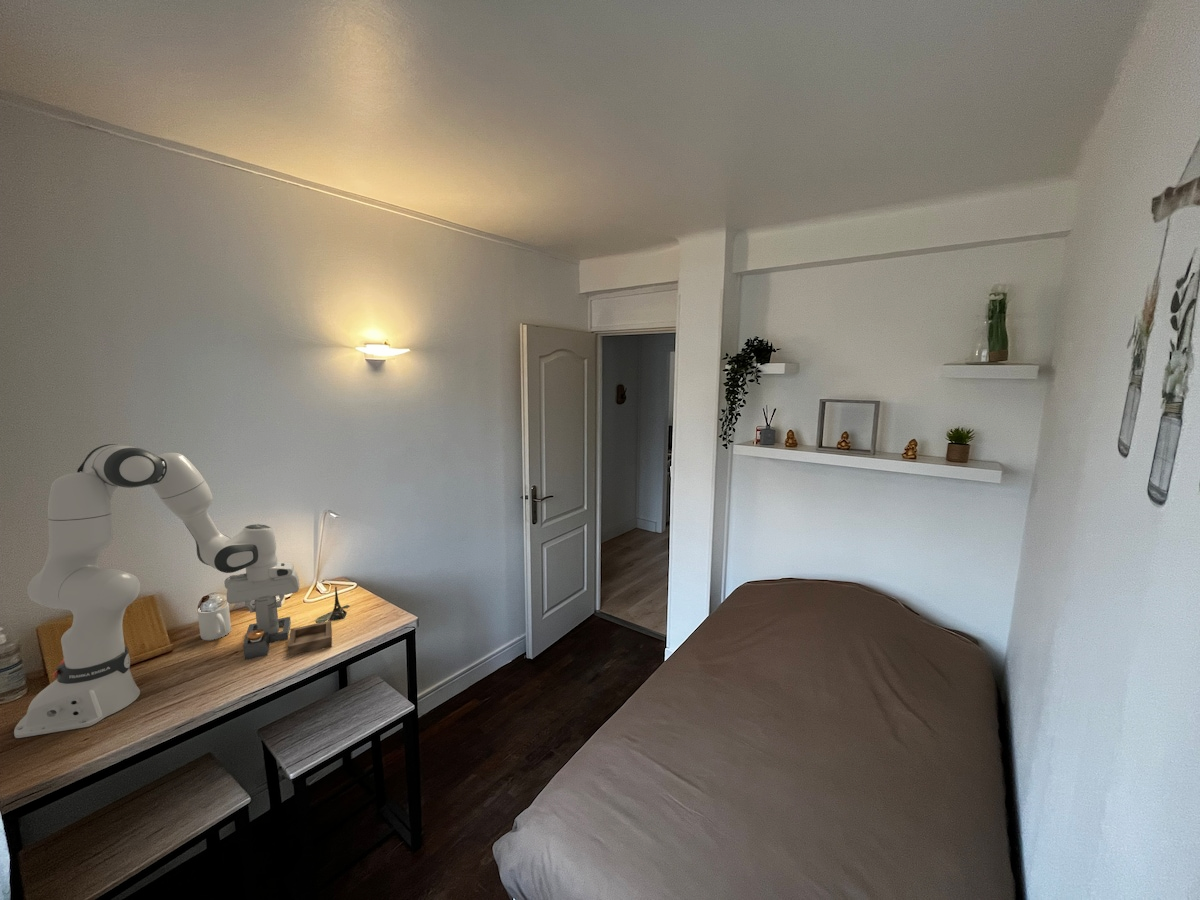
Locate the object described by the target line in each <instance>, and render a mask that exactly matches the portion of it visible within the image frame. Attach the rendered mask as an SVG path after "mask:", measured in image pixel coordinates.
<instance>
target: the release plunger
mask: <svg viewBox="0 0 1200 900" xmlns="http://www.w3.org/2000/svg"><path fill="white" fill-rule="evenodd" d="M263 636H264V630H262V629H258V630H253V631H251V632H249V633H248V634H247V639H248V640H250V643H252V642H257V641H261V640H262V637H263Z"/></svg>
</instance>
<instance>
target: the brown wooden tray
mask: <svg viewBox="0 0 1200 900" xmlns="http://www.w3.org/2000/svg"><path fill="white" fill-rule="evenodd" d="M332 628H333V627H332V621H328V620H327V621H325V622H322V623H314V624H309V625H304V626H298V627H293V628H290V631H289V637H288V644H287V651H288V658H289V657H290V658H291V657H294V656H298V655H301V654H302V655H303V654H307V653H310V652H315V651H321V650H325V649H328V648H332V647H333V645H332V644H333V640H332V639H333V637H332V636H333V634H332V633H333V629H332Z"/></svg>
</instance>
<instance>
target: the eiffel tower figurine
mask: <svg viewBox="0 0 1200 900" xmlns="http://www.w3.org/2000/svg"><path fill="white" fill-rule="evenodd" d="M334 591H335V595H334V596H335V597H334V604H333V605H334V607H333V610H332V611H330V612H328V613H326V614H323V615H321V616H319V617H317V618H316V619H315V624H317V623H322V622H327V621H331V622H333V621H339V620H345V618H346V616H347V614H348V612H347V611H346V610H345V609H348V608H350V607H351V605H349V604H346V605H344V606H341V604H340V601H339V597H338V587H337V586H335V587H334Z"/></svg>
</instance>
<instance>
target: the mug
mask: <svg viewBox="0 0 1200 900" xmlns="http://www.w3.org/2000/svg"><path fill="white" fill-rule="evenodd" d="M224 601H225V600H224ZM225 603H226V606H225V607H224V608H222V609H219V610H216V611H212V612H201V610H200V607H199V608H197V619H198V620H197V621H198V627H199V633H200V634H199V635H200V638H201V639H202V640H203V641H215V640H218V638H219V639H222V638H224V637H225V635H226V636H227V635H229V634H230V633H231V631H232V624H231V623H232V622H231V614H230V606H229V605H230V604H229V603H228V602H227V600H226V601H225ZM228 633H229V634H228ZM221 637H222V638H221ZM214 639H215V640H214Z"/></svg>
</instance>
